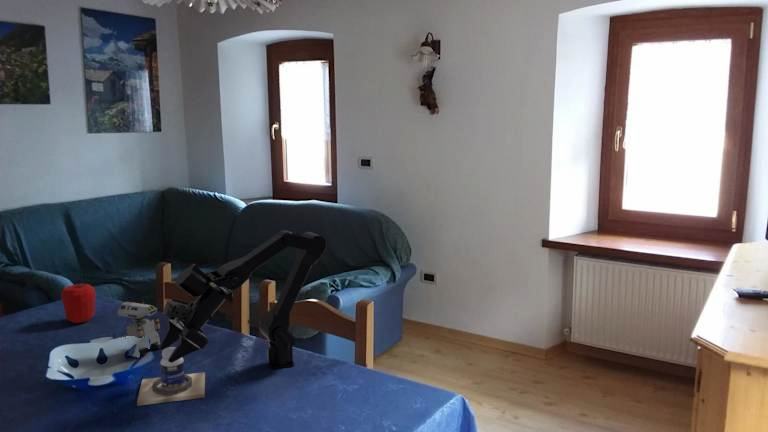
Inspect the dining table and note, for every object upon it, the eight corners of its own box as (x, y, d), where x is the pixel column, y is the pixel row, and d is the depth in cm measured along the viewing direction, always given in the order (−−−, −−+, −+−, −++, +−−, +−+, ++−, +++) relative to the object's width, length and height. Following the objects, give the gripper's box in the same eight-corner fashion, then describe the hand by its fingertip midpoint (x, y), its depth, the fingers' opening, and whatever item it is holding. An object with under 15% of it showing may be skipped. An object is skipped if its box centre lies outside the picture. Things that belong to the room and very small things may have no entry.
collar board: (205, 375, 171) (204, 368, 170) (204, 397, 158) (204, 389, 158) (142, 382, 167) (142, 375, 166) (137, 405, 154) (136, 397, 154)
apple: (88, 326, 207) (84, 287, 205) (58, 326, 208) (53, 287, 205) (103, 315, 218) (99, 278, 215) (73, 315, 218) (70, 278, 215)
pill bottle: (169, 393, 158) (166, 356, 156) (157, 386, 162) (154, 350, 160) (189, 385, 163) (187, 349, 161) (177, 379, 166) (175, 343, 164)
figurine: (138, 342, 194) (134, 296, 191) (165, 349, 189) (161, 302, 186) (113, 353, 186) (109, 305, 183) (141, 360, 181) (137, 311, 178)
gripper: (172, 280, 167) (132, 327, 164) (192, 298, 152) (148, 351, 148) (203, 303, 173) (165, 349, 169) (225, 323, 157) (184, 374, 154)
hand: (165, 355), depth 160 cm, fingers open, 9 cm apart
